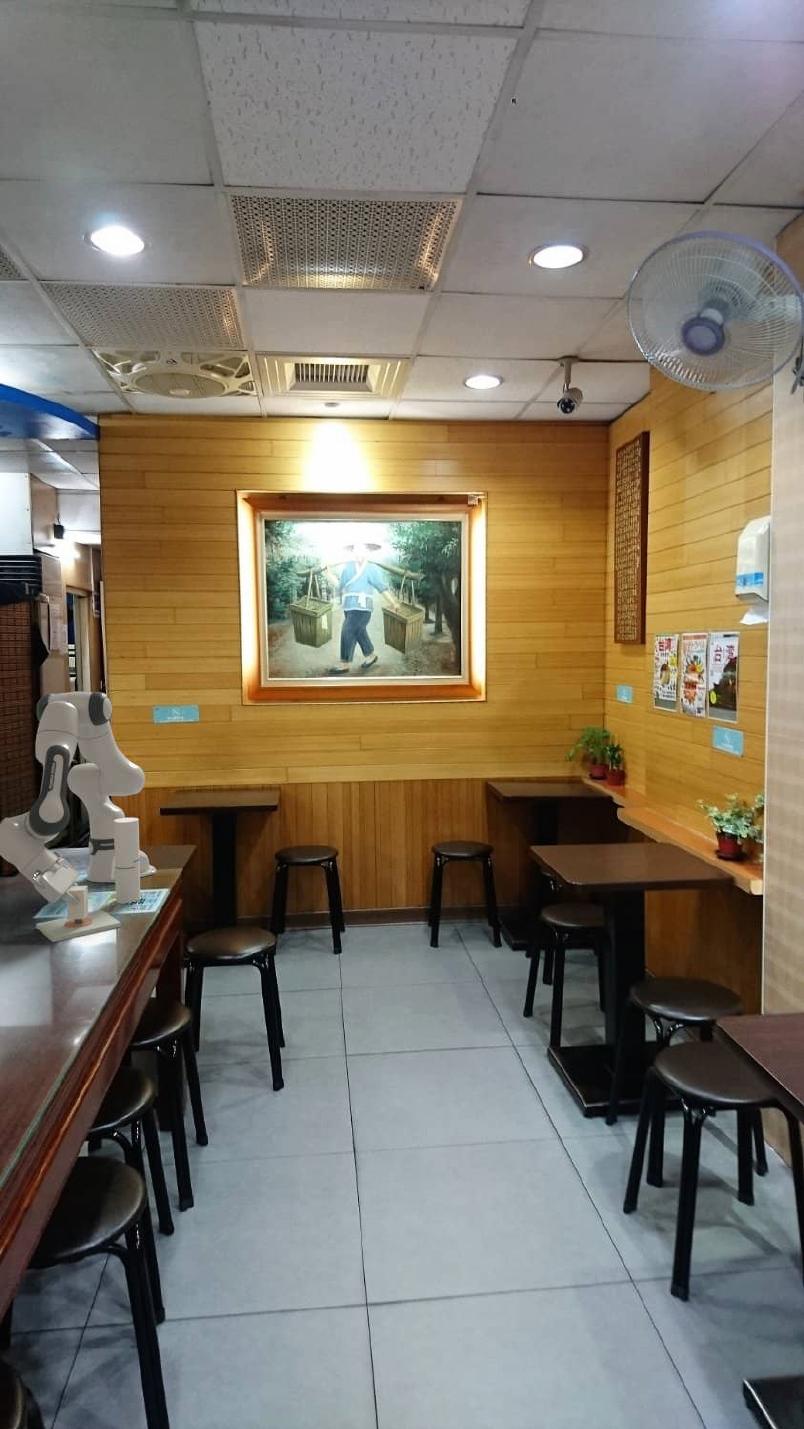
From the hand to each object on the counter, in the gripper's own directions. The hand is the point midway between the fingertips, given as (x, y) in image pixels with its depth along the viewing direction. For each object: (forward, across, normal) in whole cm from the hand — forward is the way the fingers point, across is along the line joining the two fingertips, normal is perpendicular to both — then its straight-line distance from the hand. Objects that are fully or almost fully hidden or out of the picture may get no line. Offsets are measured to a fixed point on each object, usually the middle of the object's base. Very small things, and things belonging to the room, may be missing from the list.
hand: (80, 900), depth 214 cm
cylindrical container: (+12, +23, 0) cm, 26 cm away
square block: (+3, 0, +4) cm, 5 cm away
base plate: (+5, 0, +6) cm, 8 cm away
